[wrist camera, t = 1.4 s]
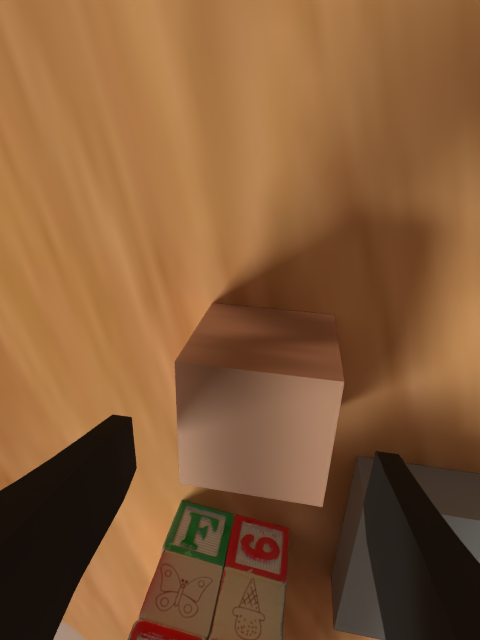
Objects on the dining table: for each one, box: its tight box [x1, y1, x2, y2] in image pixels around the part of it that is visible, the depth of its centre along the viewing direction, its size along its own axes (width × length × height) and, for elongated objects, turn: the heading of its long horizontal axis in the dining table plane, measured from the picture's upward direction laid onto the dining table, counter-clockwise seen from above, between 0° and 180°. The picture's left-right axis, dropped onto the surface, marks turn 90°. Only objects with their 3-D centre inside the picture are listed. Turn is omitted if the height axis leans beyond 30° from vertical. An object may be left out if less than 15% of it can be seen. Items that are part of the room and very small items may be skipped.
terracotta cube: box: [175, 303, 344, 507], centre depth 14 cm, size 5×5×5 cm
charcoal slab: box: [331, 456, 480, 640], centre depth 18 cm, size 9×9×3 cm
